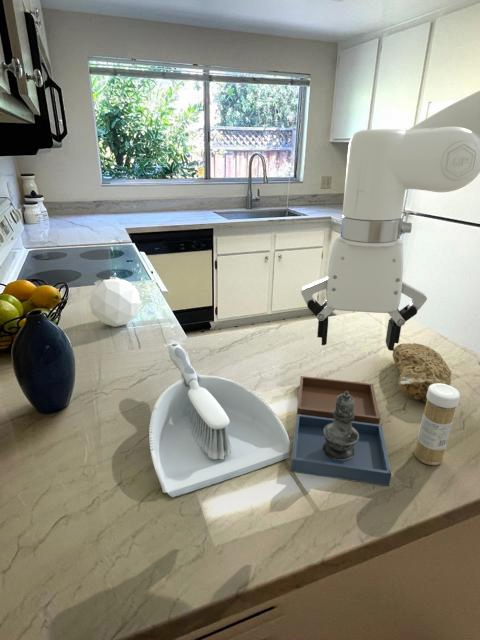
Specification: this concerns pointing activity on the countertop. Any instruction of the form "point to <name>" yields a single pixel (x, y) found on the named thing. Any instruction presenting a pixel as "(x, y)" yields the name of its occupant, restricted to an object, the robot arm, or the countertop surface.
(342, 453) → the grey stone figurine
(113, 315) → the geodesic sphere
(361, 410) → the tray walnut
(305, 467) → the tray blue
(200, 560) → the countertop surface
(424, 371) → the sponge
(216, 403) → the dustpan and brush
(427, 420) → the sprinkles bottle
